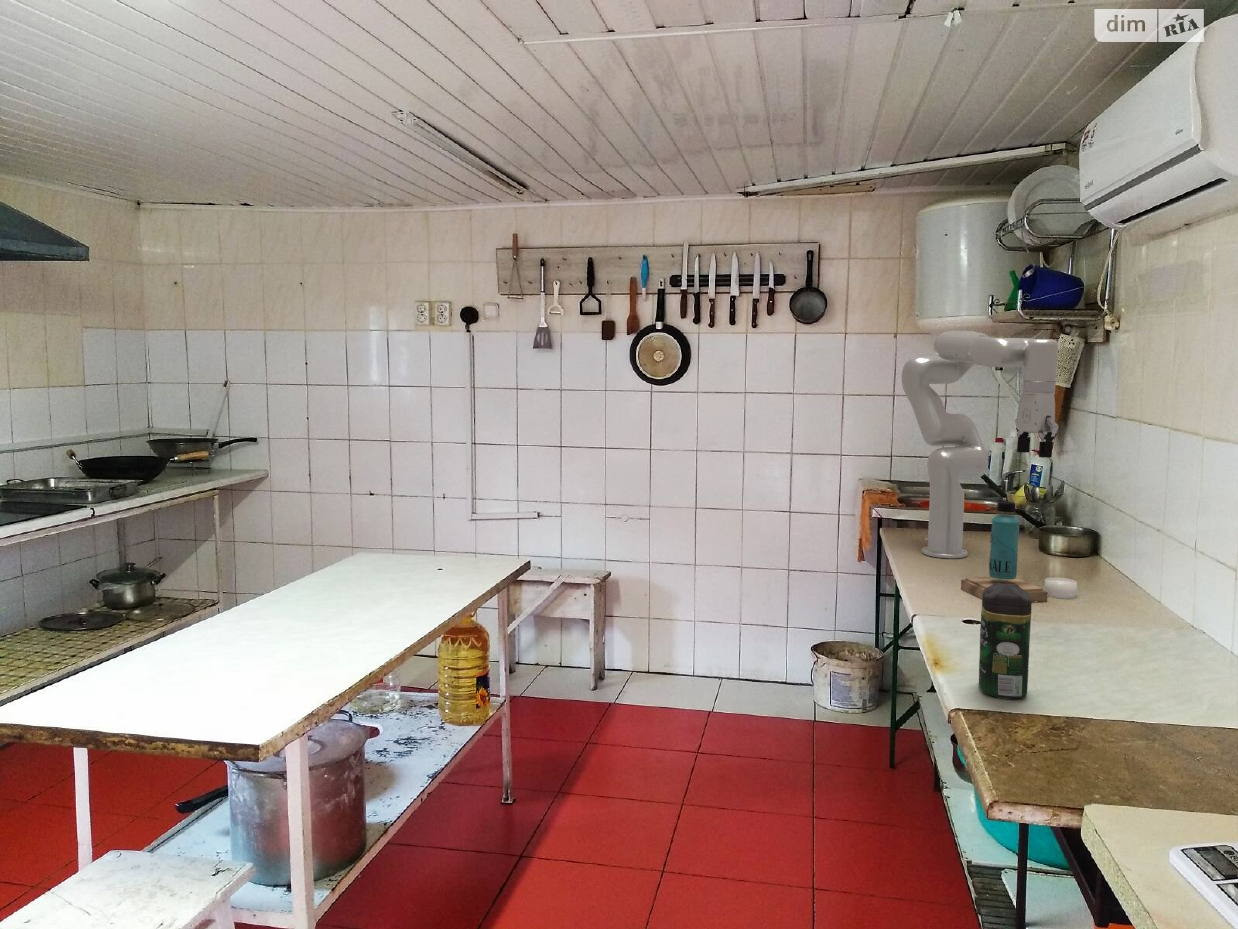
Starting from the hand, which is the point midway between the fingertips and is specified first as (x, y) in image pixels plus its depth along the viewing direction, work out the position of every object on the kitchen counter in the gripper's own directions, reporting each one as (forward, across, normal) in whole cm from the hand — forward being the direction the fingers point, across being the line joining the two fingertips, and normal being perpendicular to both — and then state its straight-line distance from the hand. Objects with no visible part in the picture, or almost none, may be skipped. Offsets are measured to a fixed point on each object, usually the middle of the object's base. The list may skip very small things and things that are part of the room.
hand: (1033, 454), depth 227 cm
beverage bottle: (+30, +14, -14) cm, 36 cm away
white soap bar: (+32, +16, 0) cm, 36 cm away
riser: (+32, +15, -14) cm, 38 cm away
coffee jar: (+32, +73, -48) cm, 93 cm away
